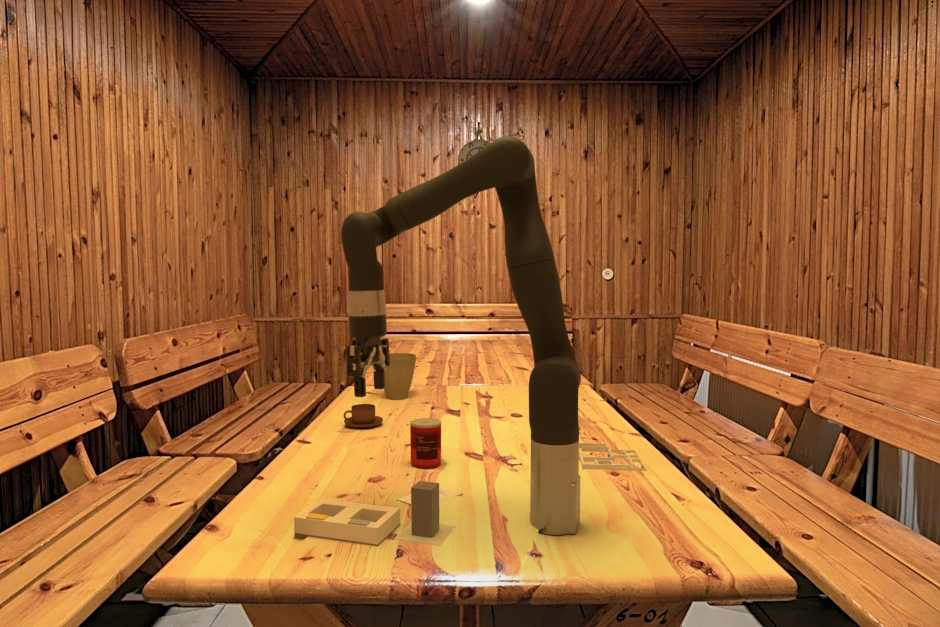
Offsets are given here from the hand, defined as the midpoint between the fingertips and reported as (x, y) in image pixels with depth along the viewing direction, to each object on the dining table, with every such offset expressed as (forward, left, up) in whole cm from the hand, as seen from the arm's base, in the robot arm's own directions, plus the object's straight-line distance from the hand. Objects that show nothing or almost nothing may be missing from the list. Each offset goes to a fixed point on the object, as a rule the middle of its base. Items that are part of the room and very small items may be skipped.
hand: (370, 392), depth 135 cm
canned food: (+1, -33, -25) cm, 41 cm away
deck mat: (-15, +8, -25) cm, 30 cm away
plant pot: (+41, -105, -25) cm, 115 cm away
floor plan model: (-38, -50, -26) cm, 68 cm away
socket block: (-1, +11, -25) cm, 27 cm away
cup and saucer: (+34, -64, -25) cm, 76 cm away
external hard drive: (-9, -10, -26) cm, 29 cm away
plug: (-15, +8, -24) cm, 30 cm away
